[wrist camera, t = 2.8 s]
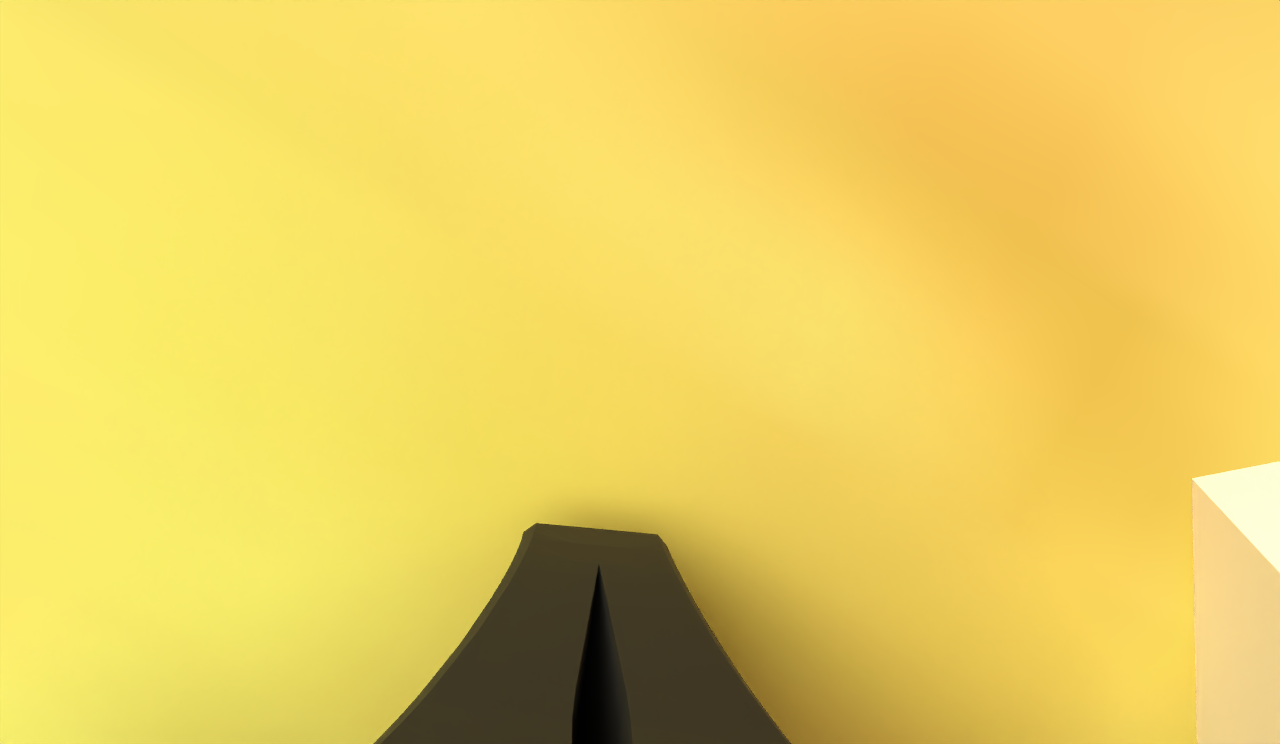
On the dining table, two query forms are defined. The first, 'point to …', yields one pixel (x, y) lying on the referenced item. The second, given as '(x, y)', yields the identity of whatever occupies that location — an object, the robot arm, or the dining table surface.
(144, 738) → the dining table surface
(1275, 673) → the cream carton
